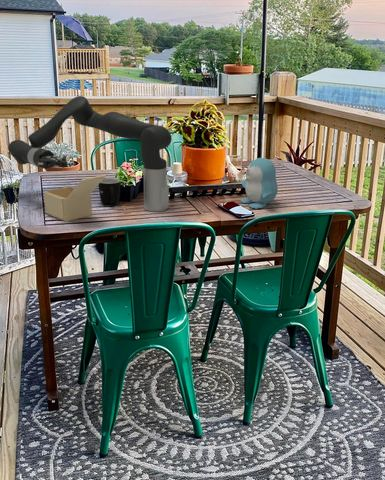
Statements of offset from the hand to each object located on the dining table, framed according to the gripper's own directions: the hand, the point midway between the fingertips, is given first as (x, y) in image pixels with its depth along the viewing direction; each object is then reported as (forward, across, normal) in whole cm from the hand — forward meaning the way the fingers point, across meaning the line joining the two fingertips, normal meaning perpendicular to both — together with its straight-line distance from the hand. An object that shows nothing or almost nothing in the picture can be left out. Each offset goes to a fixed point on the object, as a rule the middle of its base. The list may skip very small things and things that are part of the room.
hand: (65, 164), depth 187 cm
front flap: (+13, 0, +6) cm, 14 cm away
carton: (0, 0, +20) cm, 20 cm away
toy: (+44, +67, +20) cm, 82 cm away
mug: (+1, +20, +20) cm, 28 cm away
